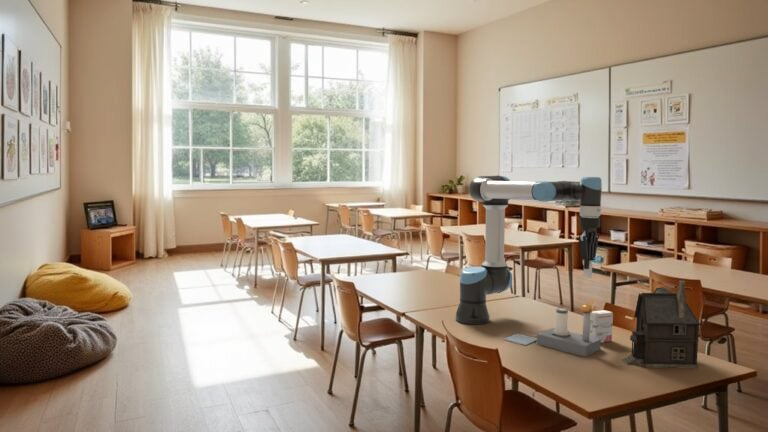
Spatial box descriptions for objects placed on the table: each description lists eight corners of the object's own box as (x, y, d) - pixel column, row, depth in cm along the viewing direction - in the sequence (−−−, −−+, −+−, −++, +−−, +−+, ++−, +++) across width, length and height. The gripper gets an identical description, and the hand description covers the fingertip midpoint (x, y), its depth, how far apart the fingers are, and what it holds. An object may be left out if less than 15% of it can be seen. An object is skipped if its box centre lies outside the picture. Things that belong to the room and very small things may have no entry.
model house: (612, 351, 209) (615, 272, 207) (675, 352, 209) (679, 273, 206) (629, 367, 193) (633, 281, 190) (698, 368, 192) (703, 282, 190)
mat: (503, 339, 223) (503, 338, 223) (517, 334, 230) (517, 333, 230) (525, 345, 215) (525, 344, 215) (538, 340, 222) (538, 339, 222)
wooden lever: (589, 309, 221) (589, 297, 221) (598, 310, 219) (599, 298, 219) (580, 318, 208) (581, 306, 207) (590, 320, 206) (591, 307, 205)
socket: (536, 343, 217) (537, 306, 216) (552, 337, 226) (553, 301, 224) (585, 356, 203) (586, 316, 202) (600, 349, 211) (601, 310, 210)
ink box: (603, 337, 226) (604, 309, 225) (612, 341, 221) (613, 312, 220) (586, 340, 222) (587, 311, 221) (595, 343, 218) (596, 314, 217)
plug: (549, 344, 217) (551, 309, 215) (557, 341, 221) (558, 306, 220) (564, 348, 212) (565, 312, 211) (571, 345, 216) (573, 309, 215)
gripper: (591, 218, 208) (588, 280, 210) (606, 216, 217) (604, 276, 219) (572, 217, 214) (570, 277, 216) (588, 215, 223) (586, 273, 225)
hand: (587, 276), depth 218 cm, fingers closed
